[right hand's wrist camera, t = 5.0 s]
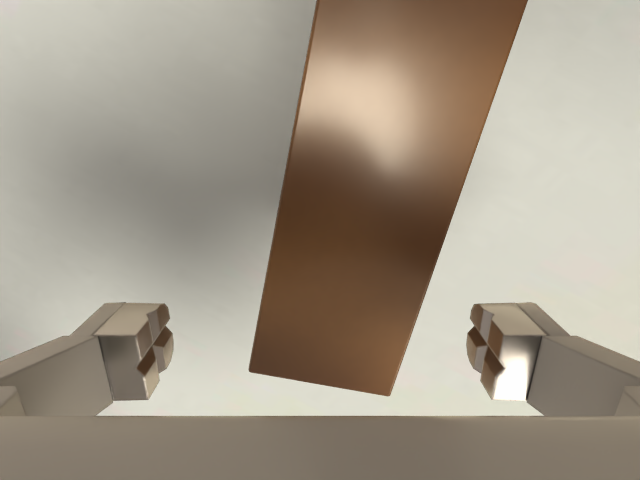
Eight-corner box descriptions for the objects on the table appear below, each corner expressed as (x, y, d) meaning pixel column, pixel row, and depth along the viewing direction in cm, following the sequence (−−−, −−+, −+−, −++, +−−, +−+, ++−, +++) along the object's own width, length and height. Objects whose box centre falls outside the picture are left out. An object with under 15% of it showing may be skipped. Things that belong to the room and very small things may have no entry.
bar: (363, 285, 21) (390, 397, 13) (275, 268, 21) (247, 372, 13) (512, -241, 14) (778, -711, 6) (381, -282, 14) (471, -844, 6)
